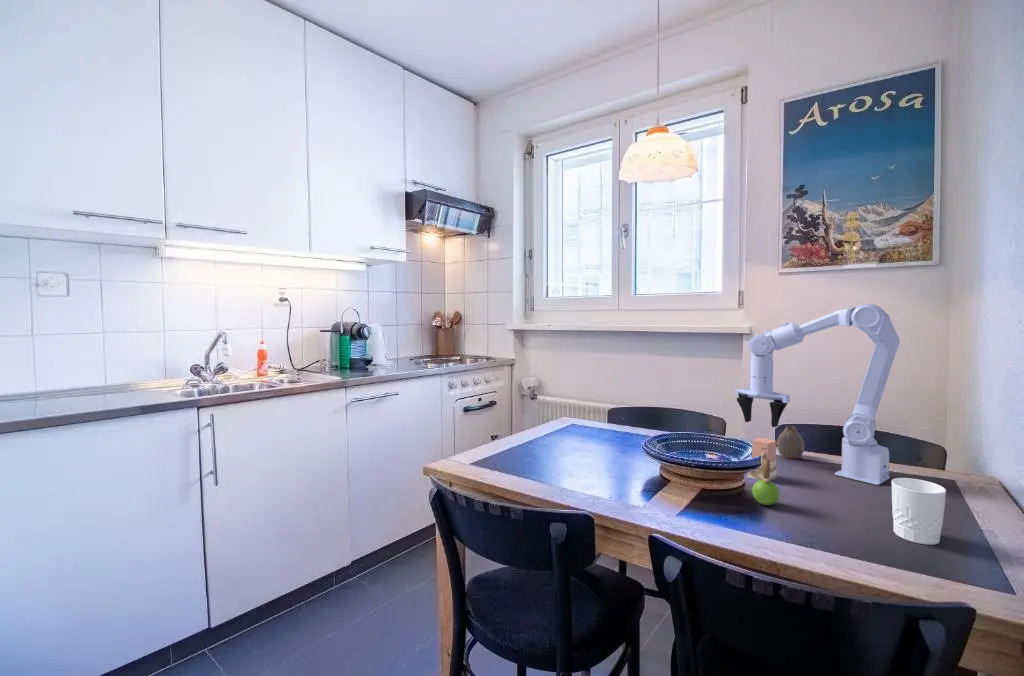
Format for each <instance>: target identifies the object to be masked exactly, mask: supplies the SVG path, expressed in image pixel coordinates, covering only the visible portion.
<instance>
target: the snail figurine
mask: <svg viewBox="0 0 1024 676" xmlns="http://www.w3.org/2000/svg"><path fill="white" fill-rule="evenodd" d="M761 449H763V447H761ZM764 449H765V451H766V449H767V448H766V447H764ZM761 471H762V478H763V480H756V481H755V483H754V484H753V486H752V488H751V490H752V491H751V492H752V496H753V498H754V499H755V500H756V501H757V502H758V503H759V504H761V505H765V506H771V505H774V504H776V503H777V502H778V500H779V499H780V496H781V495H780V490H779V487H778V485H777V484H776V483H774V482H773V481H772V480H771V481H770V479H769V477H770V461H769V460H768V459H767V454H766V452H763V453H761Z"/></svg>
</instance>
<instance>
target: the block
mask: <svg viewBox="0 0 1024 676" xmlns="http://www.w3.org/2000/svg"><path fill="white" fill-rule="evenodd" d="M761 447H763V449H761ZM764 447H766V448H767V449H766V451H765V449H764ZM763 452H766V454H767V459H768V460H769V461H770V462H772V461H775V460H776V461H777V440H773V439H769V438H764V437H759V438H755V439H752V441H751V458H753V457H756V456H760V455H761V453H763Z"/></svg>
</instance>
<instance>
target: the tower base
mask: <svg viewBox="0 0 1024 676" xmlns="http://www.w3.org/2000/svg"><path fill="white" fill-rule="evenodd" d="M747 478H751V479H754V480H756V481H759V480H763V478H762V472H758V471H751V472H748V471H747ZM769 479H770V481H771V482H772V481H774V480H776V479H778V469H777V468H776V470H774V471H772V472H771V473H770V477H769Z"/></svg>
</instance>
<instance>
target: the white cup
mask: <svg viewBox="0 0 1024 676" xmlns="http://www.w3.org/2000/svg"><path fill="white" fill-rule="evenodd" d="M946 495H947V489H946V488H945V487H943V486H942V485H939V484H938V483H935V482H931V481H927V480H923V479H918V478H911V477H910V478H909V477H896V478H893V479H891V507H892V509H891V510H892V518H893V520H892V522H893V523H892V524H893V527H892V528H893V532H894V534H895V535H896V536H897V537H900V538H901V539H903V540H907V541H909V542H912V543H915V544H921V545H931V546H932V545H933V546H934V545H937V544H940V540H941V534H942V533H941V532H942V531H941V530H942V528H943V522H944V515H945V505H946Z"/></svg>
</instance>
